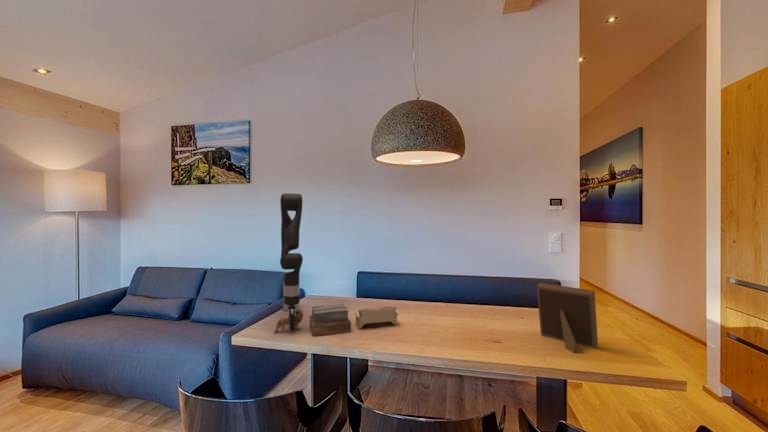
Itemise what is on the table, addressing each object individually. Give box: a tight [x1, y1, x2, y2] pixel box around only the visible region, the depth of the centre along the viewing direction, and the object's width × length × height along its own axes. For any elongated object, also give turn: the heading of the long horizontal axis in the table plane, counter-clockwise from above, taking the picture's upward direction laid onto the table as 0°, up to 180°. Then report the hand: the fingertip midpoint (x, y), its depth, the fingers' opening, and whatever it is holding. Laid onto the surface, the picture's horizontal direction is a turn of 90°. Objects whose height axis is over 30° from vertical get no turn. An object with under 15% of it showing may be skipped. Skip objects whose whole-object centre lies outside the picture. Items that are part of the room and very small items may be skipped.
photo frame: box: [536, 282, 599, 353], centre depth 141 cm, size 15×22×25 cm
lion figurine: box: [274, 309, 304, 334], centre depth 158 cm, size 15×5×9 cm, turn 130°
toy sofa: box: [354, 305, 399, 330], centre depth 166 cm, size 21×9×10 cm, turn 107°
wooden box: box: [309, 303, 352, 337], centre depth 161 cm, size 16×18×10 cm
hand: (291, 327), depth 159 cm, fingers open, 7 cm apart
